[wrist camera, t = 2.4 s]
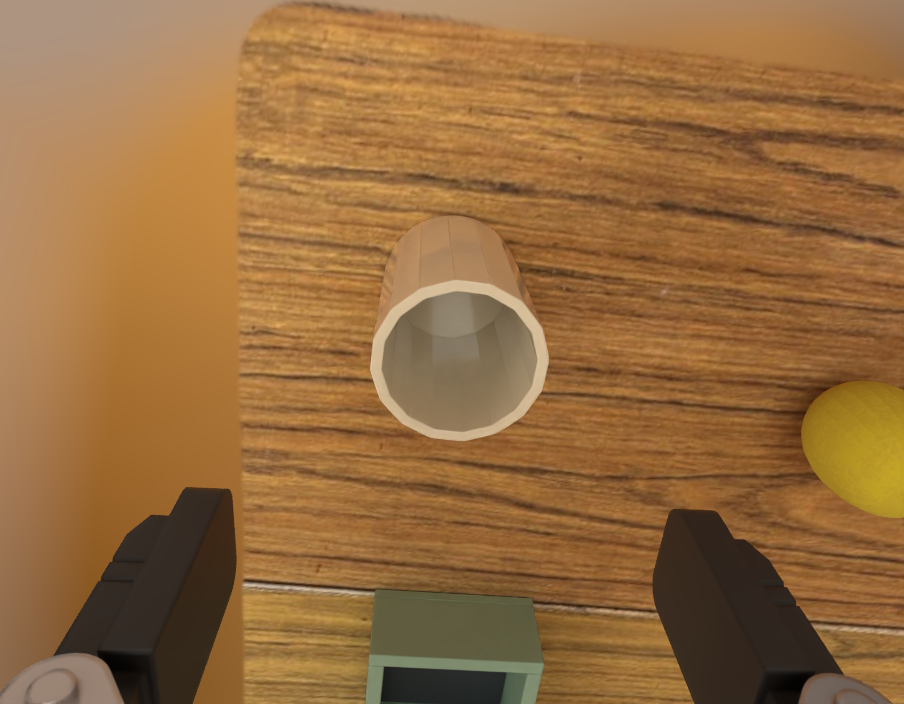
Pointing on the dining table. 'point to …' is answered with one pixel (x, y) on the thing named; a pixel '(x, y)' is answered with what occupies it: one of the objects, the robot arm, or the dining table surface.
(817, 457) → the lemon
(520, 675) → the holder
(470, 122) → the dining table surface
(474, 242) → the cup
